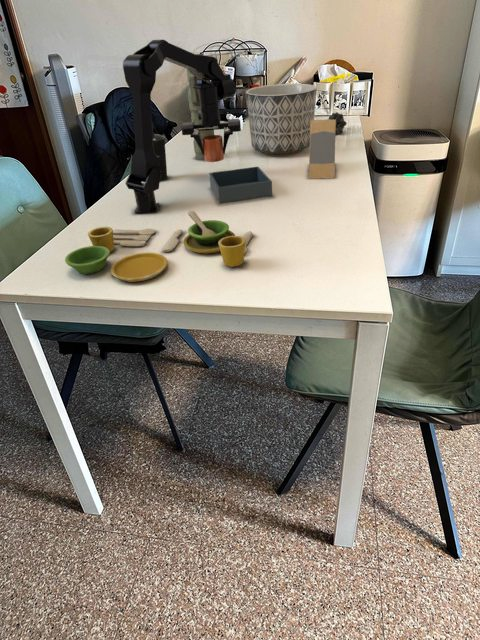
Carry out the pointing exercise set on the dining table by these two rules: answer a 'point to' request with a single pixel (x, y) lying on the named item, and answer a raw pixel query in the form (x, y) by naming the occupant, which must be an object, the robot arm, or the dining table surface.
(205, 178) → the dining table surface
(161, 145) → the drinking cup
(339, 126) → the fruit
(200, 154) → the thermos
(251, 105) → the planter
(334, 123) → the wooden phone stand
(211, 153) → the coffee cup
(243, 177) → the tote
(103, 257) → the tableware set
